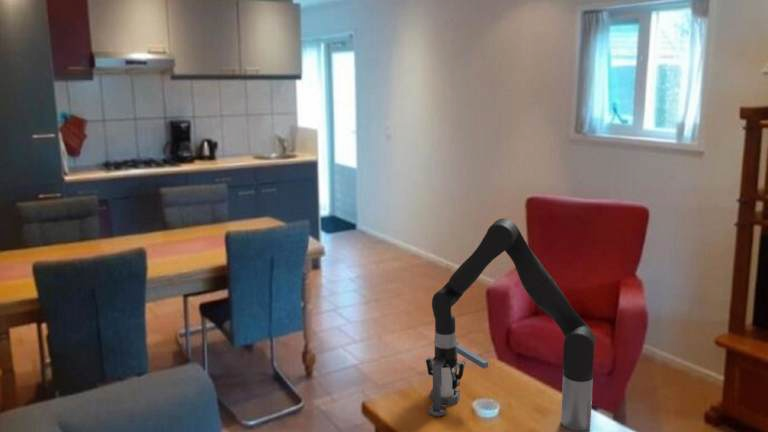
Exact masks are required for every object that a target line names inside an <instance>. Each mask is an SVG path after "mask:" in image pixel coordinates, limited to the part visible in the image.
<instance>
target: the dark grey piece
mask: <svg viewBox="0 0 768 432" xmlns="http://www.w3.org/2000/svg"><path fill="white" fill-rule="evenodd" d="M444 364H445V359H444V358H436V359H435V361H433V363H432V369H433V376H432V388H433V401H432V405H431V406H429V407H428V408H427V409H428V415H429V416H430V417H432V418H443V417H445V416H446V414H447V408H446V406H445V407H444V405H442V380H441V369H442V367H443V366H444Z"/></svg>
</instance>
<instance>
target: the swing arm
mask: <svg viewBox="0 0 768 432" xmlns="http://www.w3.org/2000/svg"><path fill="white" fill-rule="evenodd" d="M456 352H457V355H460V356H462V357H463V358H465V359H467V360H469V361H470V362H471V363H473V364H474V365H477V366H478V367H480V368H482V369H483V370H484V369H487V368H489V361H487V360H486V359H484V358H482V357H480V356H478V355H477V354H475V353H474V352H472V351H471V350H468V349H467V348H465V347H464V346H462V345H461V344H460V343H459V342H458V341H456Z"/></svg>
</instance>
